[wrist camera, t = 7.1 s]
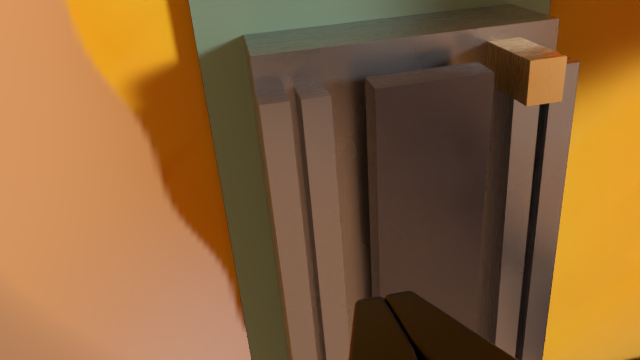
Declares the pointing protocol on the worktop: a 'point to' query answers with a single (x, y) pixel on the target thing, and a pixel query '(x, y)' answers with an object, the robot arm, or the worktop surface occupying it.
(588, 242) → the worktop surface
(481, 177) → the dark brown flat bar
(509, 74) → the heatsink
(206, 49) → the board
